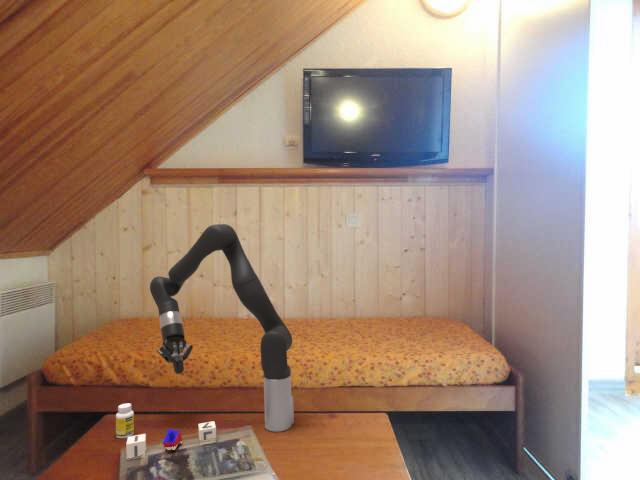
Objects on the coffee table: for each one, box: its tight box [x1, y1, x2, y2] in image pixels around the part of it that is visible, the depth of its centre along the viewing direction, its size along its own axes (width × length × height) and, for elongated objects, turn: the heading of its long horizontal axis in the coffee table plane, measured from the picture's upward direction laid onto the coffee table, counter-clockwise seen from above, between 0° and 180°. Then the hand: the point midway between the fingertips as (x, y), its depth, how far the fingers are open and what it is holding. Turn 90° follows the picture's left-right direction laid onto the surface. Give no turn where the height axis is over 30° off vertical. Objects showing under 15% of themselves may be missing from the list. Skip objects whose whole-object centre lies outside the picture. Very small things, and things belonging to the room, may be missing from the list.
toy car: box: [162, 428, 183, 448], centre depth 123 cm, size 4×4×8 cm
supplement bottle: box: [115, 402, 135, 439], centre depth 133 cm, size 5×5×10 cm
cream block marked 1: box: [125, 433, 147, 460], centre depth 120 cm, size 5×5×5 cm
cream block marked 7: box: [198, 420, 217, 441], centre depth 128 cm, size 5×5×5 cm
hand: (179, 373), depth 137 cm, fingers closed
